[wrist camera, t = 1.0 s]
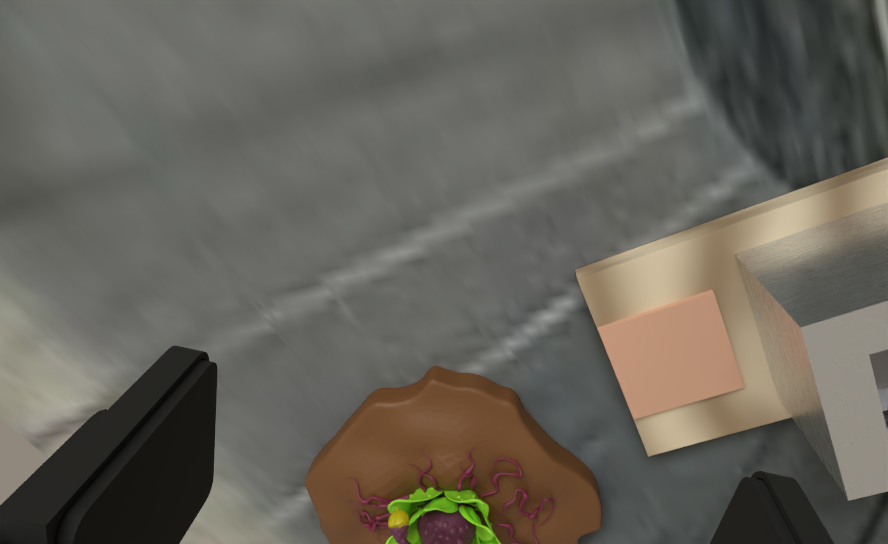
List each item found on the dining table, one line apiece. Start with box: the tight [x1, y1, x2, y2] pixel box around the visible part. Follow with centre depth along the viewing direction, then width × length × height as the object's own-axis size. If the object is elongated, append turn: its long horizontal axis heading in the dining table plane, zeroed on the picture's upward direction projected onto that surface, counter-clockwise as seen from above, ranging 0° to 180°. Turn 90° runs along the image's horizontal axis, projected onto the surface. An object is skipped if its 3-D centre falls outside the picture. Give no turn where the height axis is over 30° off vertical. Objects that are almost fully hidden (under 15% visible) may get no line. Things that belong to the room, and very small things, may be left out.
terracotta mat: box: [597, 290, 745, 419], centre depth 39 cm, size 7×7×1 cm
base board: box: [575, 158, 888, 457], centre depth 37 cm, size 28×14×2 cm, turn 114°
